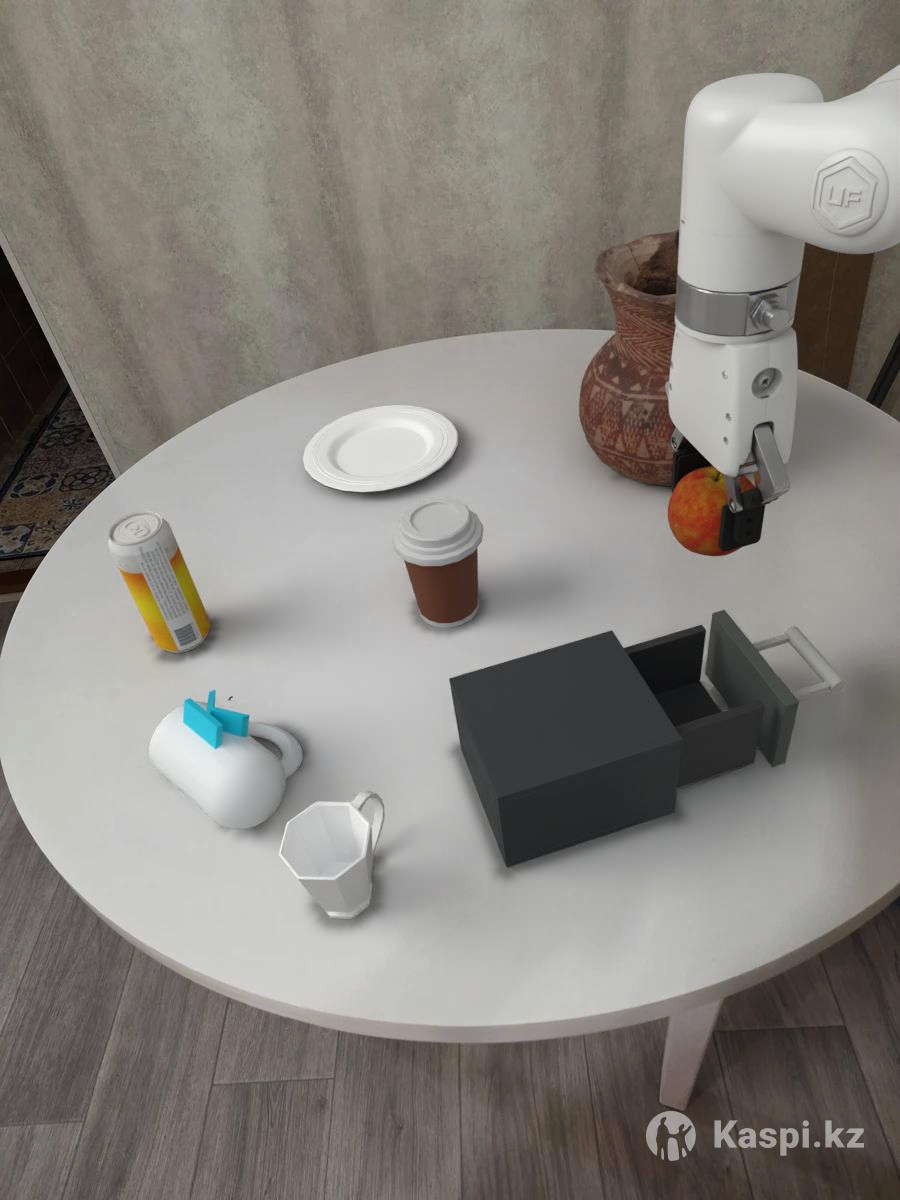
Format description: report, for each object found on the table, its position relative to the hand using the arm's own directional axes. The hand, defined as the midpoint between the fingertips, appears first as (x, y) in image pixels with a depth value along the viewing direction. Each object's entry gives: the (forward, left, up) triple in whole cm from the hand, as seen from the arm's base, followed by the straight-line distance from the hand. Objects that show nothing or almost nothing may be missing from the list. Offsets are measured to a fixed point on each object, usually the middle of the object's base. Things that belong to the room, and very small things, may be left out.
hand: (713, 515), depth 68 cm
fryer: (+16, +6, -19) cm, 26 cm away
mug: (+42, -4, -20) cm, 46 cm away
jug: (-14, -35, -20) cm, 43 cm away
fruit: (0, 0, -3) cm, 3 cm away
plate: (+19, -51, -20) cm, 58 cm away
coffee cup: (+19, -19, -20) cm, 33 cm away
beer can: (+47, -26, -20) cm, 57 cm away
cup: (+35, +9, -20) cm, 41 cm away
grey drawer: (+2, +6, -18) cm, 19 cm away
